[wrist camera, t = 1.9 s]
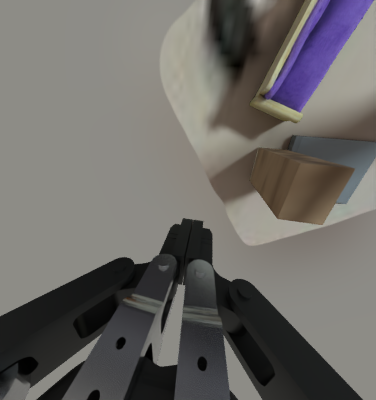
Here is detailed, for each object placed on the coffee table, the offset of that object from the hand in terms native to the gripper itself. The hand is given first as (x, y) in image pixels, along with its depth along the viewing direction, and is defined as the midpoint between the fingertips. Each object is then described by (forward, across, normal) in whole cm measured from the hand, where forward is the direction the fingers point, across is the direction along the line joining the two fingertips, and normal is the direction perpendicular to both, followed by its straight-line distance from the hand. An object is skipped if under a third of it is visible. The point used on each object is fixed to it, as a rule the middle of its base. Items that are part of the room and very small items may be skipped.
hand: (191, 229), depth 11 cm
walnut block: (+29, -14, 0) cm, 32 cm away
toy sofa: (+29, -14, -20) cm, 38 cm away
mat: (+29, -26, 0) cm, 39 cm away
